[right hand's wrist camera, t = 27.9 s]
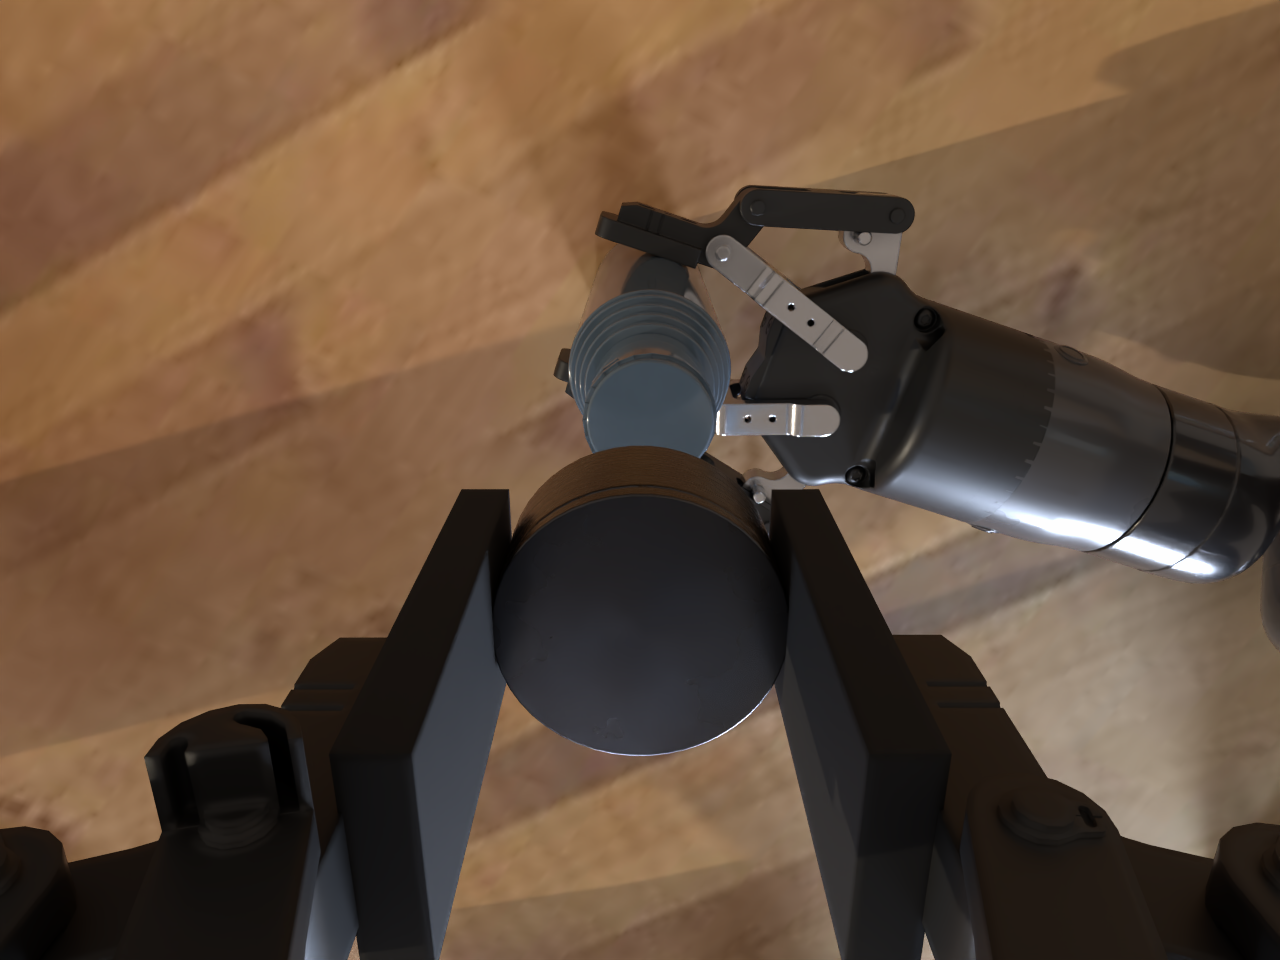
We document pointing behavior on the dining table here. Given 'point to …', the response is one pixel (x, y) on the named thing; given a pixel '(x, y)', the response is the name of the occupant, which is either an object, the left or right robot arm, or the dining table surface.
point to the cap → (640, 603)
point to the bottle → (649, 356)
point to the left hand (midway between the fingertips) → (580, 293)
